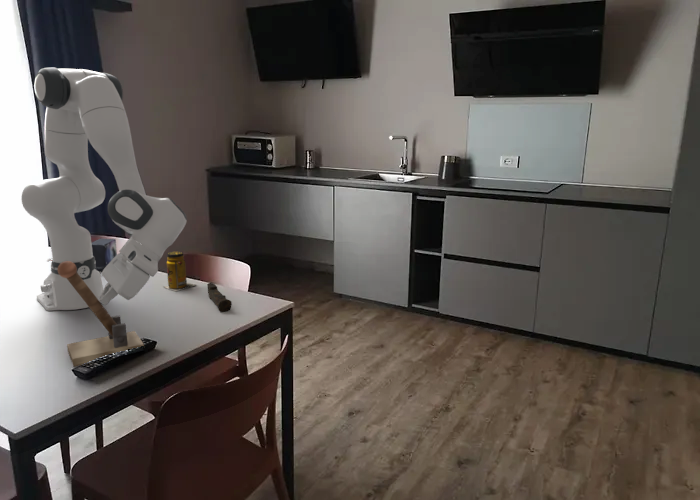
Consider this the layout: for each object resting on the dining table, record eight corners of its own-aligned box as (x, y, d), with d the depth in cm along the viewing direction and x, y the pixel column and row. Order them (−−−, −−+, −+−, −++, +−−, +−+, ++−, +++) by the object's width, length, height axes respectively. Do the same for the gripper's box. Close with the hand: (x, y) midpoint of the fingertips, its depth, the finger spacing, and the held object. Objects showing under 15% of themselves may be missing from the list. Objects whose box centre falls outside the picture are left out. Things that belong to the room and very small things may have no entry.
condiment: (163, 287, 188) (160, 253, 185) (184, 281, 195) (182, 248, 192) (175, 291, 184) (172, 256, 181) (197, 285, 190) (194, 252, 187)
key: (59, 259, 224) (47, 260, 222) (58, 256, 224) (47, 258, 222) (59, 266, 214) (47, 267, 212) (59, 264, 213) (47, 265, 211)
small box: (107, 272, 206) (104, 244, 203) (89, 271, 206) (86, 244, 203) (119, 264, 216) (116, 238, 213) (102, 264, 216) (99, 238, 213)
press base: (135, 337, 146) (132, 311, 144) (144, 351, 138) (141, 323, 136) (67, 351, 138) (64, 323, 136) (73, 366, 130) (69, 337, 128)
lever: (125, 330, 141) (68, 256, 130) (129, 335, 138) (71, 259, 127) (111, 339, 140) (52, 265, 129) (114, 345, 137) (54, 269, 126)
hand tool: (232, 311, 166) (231, 297, 165) (219, 313, 165) (218, 298, 164) (218, 293, 183) (217, 280, 182) (205, 295, 181) (205, 281, 180)
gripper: (118, 241, 144) (82, 284, 141) (138, 258, 128) (98, 307, 125) (138, 255, 148) (103, 297, 145) (160, 273, 131) (121, 321, 128)
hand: (101, 302), depth 135 cm, fingers closed, pressing on lever
